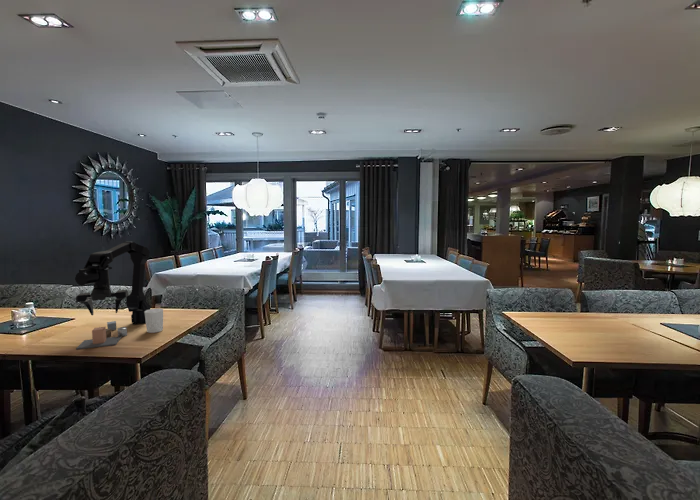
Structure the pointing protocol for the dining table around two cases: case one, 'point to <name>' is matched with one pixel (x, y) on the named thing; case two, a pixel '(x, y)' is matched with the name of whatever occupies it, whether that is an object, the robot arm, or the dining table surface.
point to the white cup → (154, 320)
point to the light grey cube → (122, 331)
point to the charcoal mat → (108, 342)
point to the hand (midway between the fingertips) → (104, 314)
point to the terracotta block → (99, 335)
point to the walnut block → (108, 333)
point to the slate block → (111, 325)
